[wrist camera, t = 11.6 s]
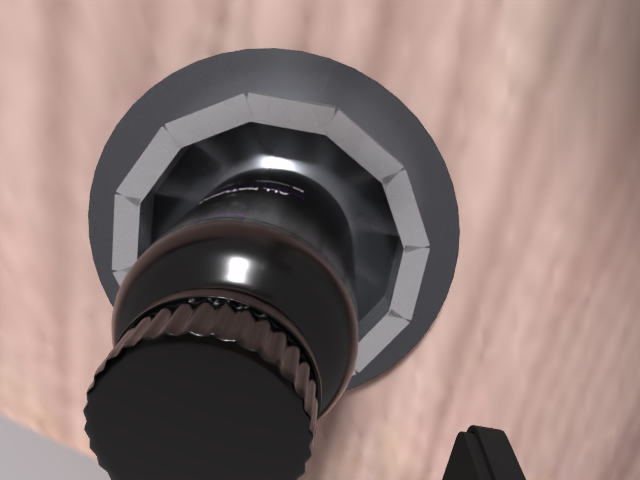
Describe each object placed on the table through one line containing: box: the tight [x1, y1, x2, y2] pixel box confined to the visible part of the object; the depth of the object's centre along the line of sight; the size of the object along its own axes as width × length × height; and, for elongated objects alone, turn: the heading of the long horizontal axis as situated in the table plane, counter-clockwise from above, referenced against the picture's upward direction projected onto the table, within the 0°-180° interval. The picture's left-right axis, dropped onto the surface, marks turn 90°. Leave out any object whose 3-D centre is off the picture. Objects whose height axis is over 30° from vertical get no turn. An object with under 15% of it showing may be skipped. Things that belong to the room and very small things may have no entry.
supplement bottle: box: [83, 167, 359, 480], centre depth 16 cm, size 7×7×12 cm
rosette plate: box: [88, 48, 460, 391], centre depth 21 cm, size 16×16×3 cm
